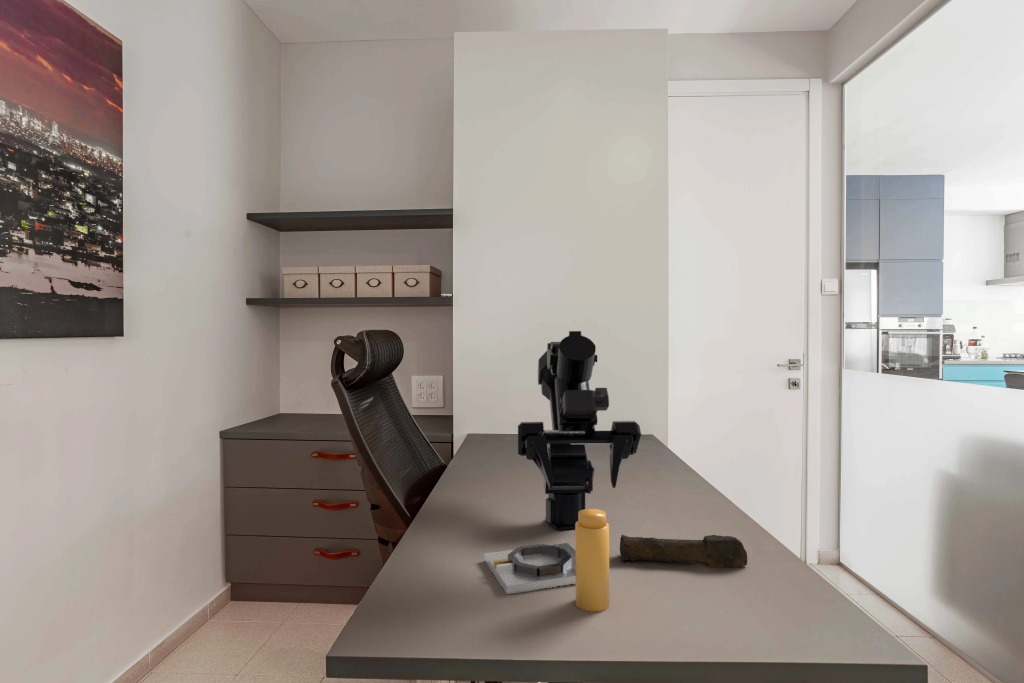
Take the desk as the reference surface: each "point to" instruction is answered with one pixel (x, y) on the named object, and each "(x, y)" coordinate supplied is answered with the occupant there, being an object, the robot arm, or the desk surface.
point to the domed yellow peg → (592, 560)
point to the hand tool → (686, 550)
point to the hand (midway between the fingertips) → (582, 486)
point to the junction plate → (533, 567)
